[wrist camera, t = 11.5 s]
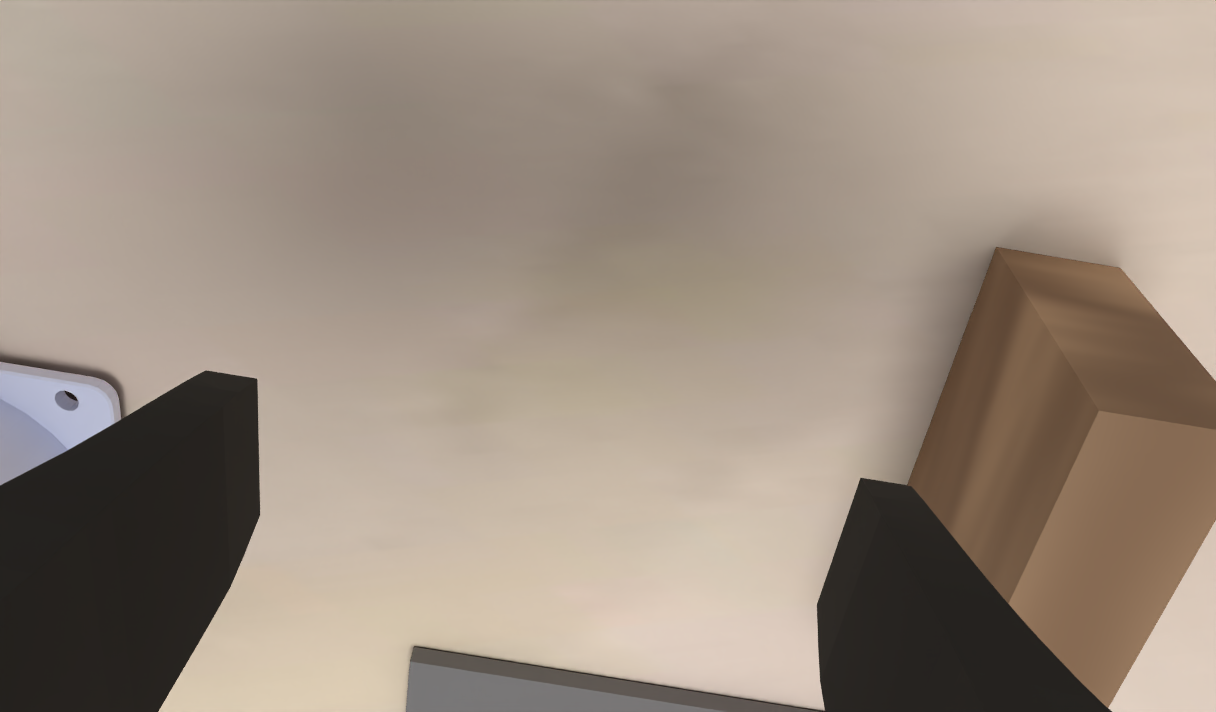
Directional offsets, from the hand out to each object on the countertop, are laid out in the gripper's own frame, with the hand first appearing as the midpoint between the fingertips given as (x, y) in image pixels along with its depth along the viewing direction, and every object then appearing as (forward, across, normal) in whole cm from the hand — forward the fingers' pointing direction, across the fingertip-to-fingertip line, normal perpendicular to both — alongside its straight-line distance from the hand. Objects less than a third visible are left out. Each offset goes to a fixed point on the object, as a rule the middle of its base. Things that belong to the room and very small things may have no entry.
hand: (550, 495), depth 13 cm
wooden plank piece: (+10, -9, +5) cm, 14 cm away
